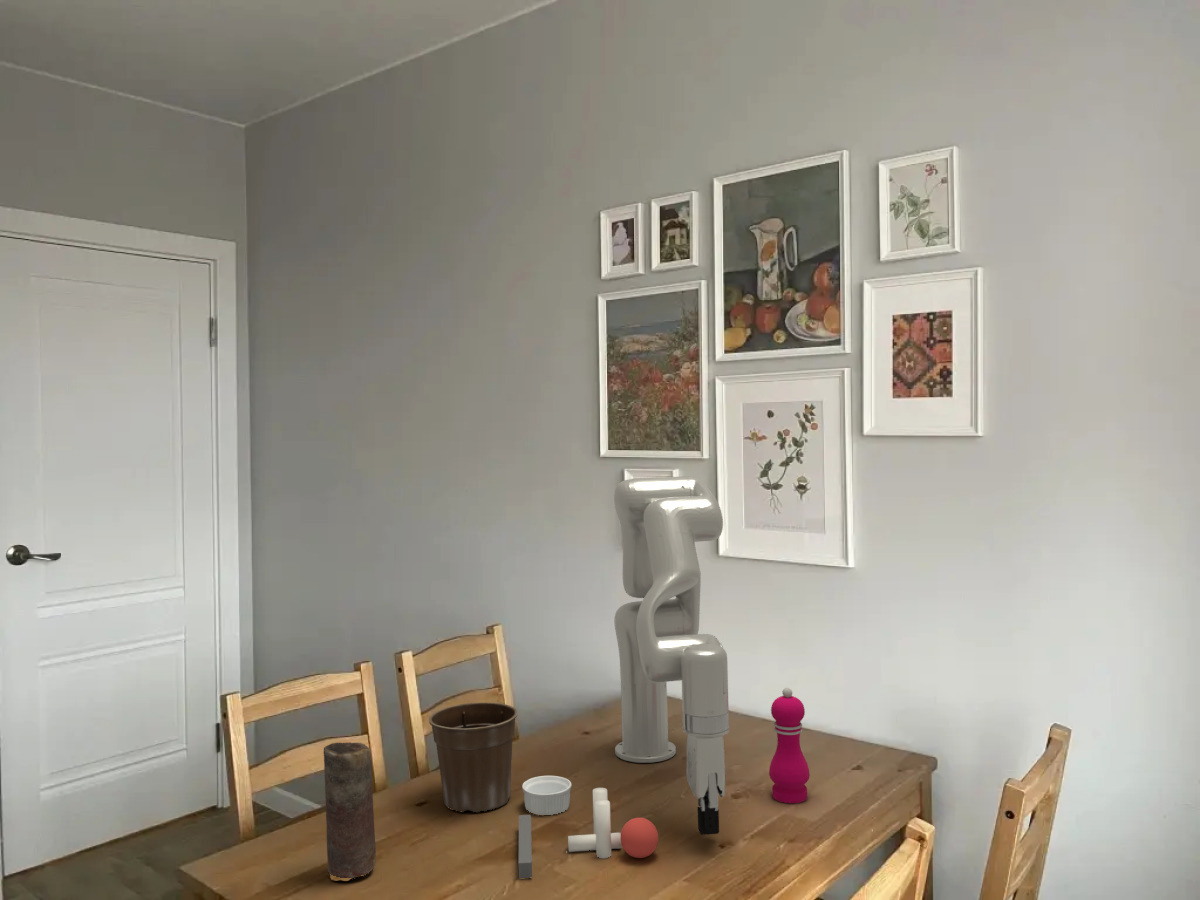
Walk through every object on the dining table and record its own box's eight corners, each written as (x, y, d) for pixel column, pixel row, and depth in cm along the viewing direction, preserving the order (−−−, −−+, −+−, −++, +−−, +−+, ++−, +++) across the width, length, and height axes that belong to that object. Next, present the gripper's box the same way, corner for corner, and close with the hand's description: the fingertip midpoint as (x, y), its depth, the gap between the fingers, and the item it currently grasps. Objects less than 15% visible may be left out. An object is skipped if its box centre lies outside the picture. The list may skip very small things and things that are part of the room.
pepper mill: (810, 805, 172) (807, 694, 172) (769, 803, 174) (766, 693, 173) (809, 790, 179) (807, 683, 179) (770, 788, 181) (767, 682, 180)
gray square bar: (519, 829, 166) (519, 815, 166) (531, 829, 166) (530, 814, 166) (519, 879, 148) (518, 863, 148) (532, 878, 148) (531, 862, 148)
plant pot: (413, 803, 179) (410, 716, 178) (481, 777, 191) (478, 696, 190) (470, 826, 168) (467, 734, 167) (538, 798, 179) (535, 711, 179)
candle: (333, 863, 155) (328, 739, 155) (379, 859, 156) (375, 736, 155) (323, 885, 148) (318, 755, 147) (372, 882, 148) (367, 753, 148)
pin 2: (595, 852, 156) (594, 800, 156) (610, 851, 157) (609, 799, 156) (597, 858, 154) (595, 806, 154) (612, 857, 154) (610, 805, 154)
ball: (615, 816, 154) (649, 804, 156) (614, 839, 157) (647, 827, 159) (630, 848, 149) (665, 835, 151) (629, 871, 153) (663, 858, 155)
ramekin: (579, 801, 178) (578, 777, 178) (561, 820, 170) (560, 796, 169) (534, 796, 181) (533, 773, 181) (514, 815, 172) (514, 791, 172)
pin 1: (593, 838, 161) (592, 788, 161) (607, 837, 162) (606, 787, 161) (594, 844, 159) (593, 793, 159) (609, 844, 159) (607, 792, 159)
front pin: (619, 842, 159) (568, 845, 159) (619, 829, 159) (567, 832, 158) (621, 851, 157) (569, 855, 156) (621, 838, 157) (568, 842, 156)
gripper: (675, 709, 166) (678, 815, 166) (690, 737, 151) (694, 854, 151) (719, 706, 166) (721, 812, 167) (738, 735, 151) (741, 851, 152)
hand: (708, 832), depth 159 cm, fingers closed
